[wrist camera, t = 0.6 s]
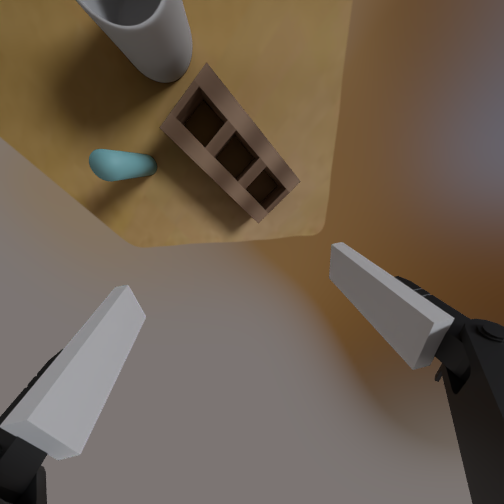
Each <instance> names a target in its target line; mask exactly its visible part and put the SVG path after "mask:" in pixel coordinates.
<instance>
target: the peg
mask: <svg viewBox="0 0 504 504" xmlns="http://www.w3.org/2000/svg"><path fill="white" fill-rule="evenodd" d="M89 164H90V167H91V169H92V171H93V172H94V173H95V174H96V175H97V176H98V177H99V178H101V179H103V180H105V181H118V180H124V179H130V178H137V177H143V176H149V175H153V174H154V173H155V172H156V170H157V164H156V161H155V160H154V159H153V158H152V157H151V156H149V155H147V154H140V153H131V152H123V151H115V150H106V149H97V150H94V151H93V152H92V153H91V154H90V157H89Z"/></svg>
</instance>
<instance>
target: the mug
mask: <svg viewBox="0 0 504 504" xmlns="http://www.w3.org/2000/svg"><path fill="white" fill-rule="evenodd" d="M76 1H77V2H78V3H79V5H80V6H81V7H82V8H83V9H84V10H85V12H86V13H87V14H88V15H89V16H90V17H91V18H92V19H93V20H94V21H95V22H96V24H97V25H98V26H99V27H100V28H101V29H102V30H103V31H104V32H105V33H106V35H107V36H108V37H109V38H110V39H111V40H112V41H113V42H114V43H115V44H116V45H117V47H118V48H119V49H120V50H121V51H122V52H123V53H124V54H125V55H126V57H127V58H128V59H129V60H130V61H131V62H132V64H133V65H134V66H135V67H136V68H137V69H138V70H139V71H140V72H141V73H143V74H144V75H145V76H147V77H148V78H150V79H152V80H155V81H157V82H162V83H168V82H173V81H176V80H177V79H179V78H180V77H182V76H183V74H184V73H185V72H186V70H187V69H188V67H189V64H190V61H191V57H192V36H191V31H190V27H189V24H188V20H187V17H186V13H185V9H184V6H183V2H182V0H76Z"/></svg>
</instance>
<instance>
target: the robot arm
mask: <svg viewBox="0 0 504 504" xmlns="http://www.w3.org/2000/svg"><path fill="white" fill-rule="evenodd" d="M329 278H330V280H331V281H332V282H333V283H334V284H335V285H336V286H337V287H338V288H339V289H340V290H341V292H342V293H343V294H344V295H345V296H346V297H347V298H348V299H349V300H350V301H351V303H352V304H353V305H354V306H355V307H356V308H357V309H358V310H359V311H360V312H361V313H362V315H363V316H364V317H365V318H366V319H367V320H368V321H369V322H370V323H371V324H372V326H373V327H374V328H375V329H376V330H377V331H378V332H379V333H380V334H381V335H382V336H383V338H384V339H385V340H386V341H387V342H388V343H389V344H390V345H391V346H392V347H393V349H395V351H396V352H397V353H398V354H399V355H400V356H401V357H402V358H403V359H404V361H406V363H407V364H408V365H409V366H410V367H411V368H412V369H413V370H414V369H418V368H421V367H426V366H429V365H430V364H431V362H432V360H433V358H434V357H436V358H438V359H439V360H440V361H441V362H442V364H441V366H440V368H439V370H438V371H437V373H436V375H435V381H438V382H439V380H440V378H441V376H443V381H444V385H445V389H446V393H447V397H448V402H449V406H450V410H451V415H452V418H453V423H454V427H455V432H456V436H457V440H458V444H459V448H460V453H461V457H462V461H463V465H464V469H465V474H466V478H467V482H468V487H469V490H470V495H471V499H472V503H473V504H504V327H503V326H501V325H499V324H497V323H493V322H490V321H487V320H481V319H469V318H467V317H466V316H464V315H463V314H461V313H460V312H458V311H457V310H455V309H453V308H452V307H450V306H449V305H447V304H446V303H444V302H442V301H441V300H439V299H438V298H436V297H435V296H433V295H430V293H428V292H427V291H425V290H424V289H421V287H419V286H418V285H416V284H414V283H413V282H411V281H409V280H407V279H404V278H401V277H399V276H396V277H393V276H392V275H390V274H389V273H387V272H386V271H384V270H383V269H381V268H380V267H378V266H377V265H375V264H374V263H372V262H371V261H369V260H368V259H367V258H365V257H364V256H362V255H360V254H359V253H358V252H356V251H354V250H353V249H352V248H350V247H349V246H347V245H346V244H344V243H343V242H341V243H336V244H332V245H331V259H330V274H329ZM145 318H146V315H145V314H144V312H143V310H142V308H141V307H140V305H139V303H138V301H137V300H136V298H135V296H134V294H133V292H132V291H131V289H130V287H129V285H124V286H119V287H115V288H114V290H112V292H111V293H110V294H109V295H108V296H107V298H106V299H105V300H104V301H103V302H102V304H101V305H100V306H99V307H98V309H97V310H96V311H95V312H94V313H93V314H92V316H91V317H90V318H89V319H88V321H87V322H86V323H85V324H84V325H83V326H82V328H81V329H80V330H79V331H78V332H77V334H76V335H75V336H74V337H73V338H72V340H71V341H70V342H69V343H68V345H67V346H66V347H65V348H64V349H62V350H61V351H60V352H59V353H57V354H56V355H55V356H54V357H52V358H51V359H50V360H49V361H48V362H47V363H46V364H45V366H44V367H43V368H42V369H41V370H40V371H39V372H38V374H37V376H36V377H34V378H33V379H32V380H31V382H30V383H29V384H28V387H27V388H25V389H24V390H23V391H22V392H21V394H19V396H18V397H17V398H16V399H15V400H14V401H13V403H12V404H11V405H10V406H9V407H8V408H7V410H6V411H5V412H4V413H3V414H2V415H1V417H0V504H47V495H46V472H45V469H44V467H43V466H41V464H42V462H43V460H44V459H45V457H46V456H47V454H48V455H50V456H52V457H53V458H55V459H57V460H61V459H65V458H69V457H73V456H77V455H80V454H81V452H82V450H83V448H84V446H85V444H86V442H87V440H88V438H89V435H90V433H91V431H92V429H93V427H94V425H95V423H96V421H97V419H98V417H99V415H100V412H101V410H102V408H103V406H104V404H105V402H106V400H107V398H108V395H109V394H110V392H111V389H112V387H113V385H114V383H115V381H116V379H117V377H118V375H119V373H120V371H121V368H122V366H123V364H124V362H125V360H126V358H127V356H128V354H129V352H130V350H131V348H132V345H133V343H134V341H135V339H136V337H137V335H138V333H139V331H140V329H141V327H142V324H143V323H144V320H145Z"/></svg>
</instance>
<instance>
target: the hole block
mask: <svg viewBox="0 0 504 504" xmlns="http://www.w3.org/2000/svg"><path fill="white" fill-rule="evenodd" d="M203 99H204V100H205V102H206V103H207V104H208V105H209V106H210V107H211V109H212V110H213V111H214V112H215V113H216V114H217V115H218V117H219V118H220V119H221V120H222V121H223V122H224V125H223V126H222V128H221V129H220V130H219V131H218V132H217V134H216V135H215V136H214V137H213V139H212V140H211V141H210V142H209V144H208V145H207V146H206V147H204V146H203V145H202V144H201V143H200V142H199V141H198V140H197V139H196V138H195V137H194V136H193V134H192V133H191V132H190V131H189V130H188V129H187V128H186V127H185V126H184V124H185V123H186V122H187V120H188V119H189V118H190V117H191V115H192V114H193V113H194V111H195V110H196V109H197V107H198V106H199V105H200V103H201V102H202V101H203ZM160 129H161V130H162V131H163V132H164V133H165V134H166V135H167V136H169V137H170V138H171V139H172V140H173V141H174V142H175V143H176V144H177V145H178V146H179V147H180V148H181V149H182V150H183V151H184V152H185V153H186V154H187V155H188V156H189V157H190V158H191V159H192V160H193V161H194V162H195V163H196V164H197V165H199V166H200V167H201V168H202V169H203V170H204V171H205V172H206V173H207V174H208V175H209V176H210V177H211V178H212V179H213V180H214V181H215V182H216V183H217V184H218V185H219V186H220V187H221V188H222V189H223V190H224V191H225V192H226V193H227V194H229V195H230V196H231V197H232V198H233V199H234V200H235V201H236V202H237V203H238V204H239V205H240V206H241V207H242V208H243V209H244V210H245V211H246V212H247V213H248V214H249V215H250V216H251V217H252V218H253V219H254V220H255V221H256V222H257V223H259V222H260V221H261V220H262V219H263V218H264V217H265V216H266V215H267V214H268V213H269V212H270V211H271V210H272V209H273V208H274V207H275V206H276V205H277V204H278V203H279V202H280V201H281V200H282V199H283V198H285V197H286V196H287V195H288V194H289V193H290V192H291V191H292V190H293V189H294V188H295V187H296V186H297V185H298V184H299V183H300V182H301V181H300V180H299V179H298V178H297V176H296V175H295V174H294V172H293V171H292V170H291V169H290V167H289V166H288V165H287V164H286V162H285V161H284V160H283V159H282V157H281V156H280V155H279V153H278V152H277V151H276V150H275V148H274V147H273V146H272V145H271V143H270V142H269V141H268V140H267V138H266V137H265V136H264V134H263V133H262V132H261V131H260V129H259V128H258V127H257V126H256V124H255V123H254V122H253V121H252V119H251V118H250V117H249V116H248V114H247V113H246V112H245V110H244V109H243V108H242V107H241V105H240V104H239V103H238V102H237V100H236V99H235V98H234V97H233V95H232V94H231V93H230V91H229V90H228V89H227V88H226V86H225V85H224V84H223V83H222V81H221V80H220V79H219V78H218V76H217V75H216V74H215V72H214V71H213V70H212V69H211V67H210V66H209V65H208V64H207V63H206V64H205V65H204V67H203V68H202V69H201V71H200V72H199V74H198V75H197V76H196V78H195V79H194V81H193V82H192V83H191V85H190V86H189V87H188V89H187V90H186V92H185V93H184V94H183V96H182V97H181V99H180V100H179V101H178V103H177V104H176V105H175V107H174V108H173V110H172V111H171V112H170V114H169V115H168V117H167V118H166V119H165V121H164V122H163V123H162V125H161V126H160ZM234 135H235V136H236V137H237V139H238V140H239V141H240V142H241V143H242V144H243V146H244V147H245V148H246V149H247V150H248V151H249V152H250V154H251V155H252V156H253V157H254V158H255V159H254V160H253V161H252V162H251V163H250V164H249V165H248V166H247V167H246V169H245V170H244V171H243V172H242V173H241V174H240V175H239V176H238V177H237V179H235V178H234V177H233V176H232V175H231V174H230V173H229V172H228V171H227V170H226V169H225V168H224V166H223V165H222V164H221V163H220V162H219V161H218V160H217V159H216V157H217V155H218V154H219V153H220V152H221V151H222V149H223V148H224V147H225V146H226V145H227V144H228V142H229V141H230V140H231V139H232V138H233V136H234ZM263 170H265V171H266V172H267V173H268V174H269V176H270V177H271V178H272V179H273V180H274V181H275V183H276V184H277V185H278V186H277V187H276V188H275V189H274V190H273V191H272V192H271V193H270V194H269V195H268V196H267V197H266V198H265V199H264V200H263V201H262V202H261V203H260V204H259V203H258V202H257V201H256V200H255V198H254V197H253V196H252V195H251V194H250V193H249V192H248V191H247V190H246V188H247V187H248V186H249V185H250V184H251V183H252V181H253V180H254V179H255V178H256V177H257V176H258V175H259V174H260V173H261V172H262V171H263Z"/></svg>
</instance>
